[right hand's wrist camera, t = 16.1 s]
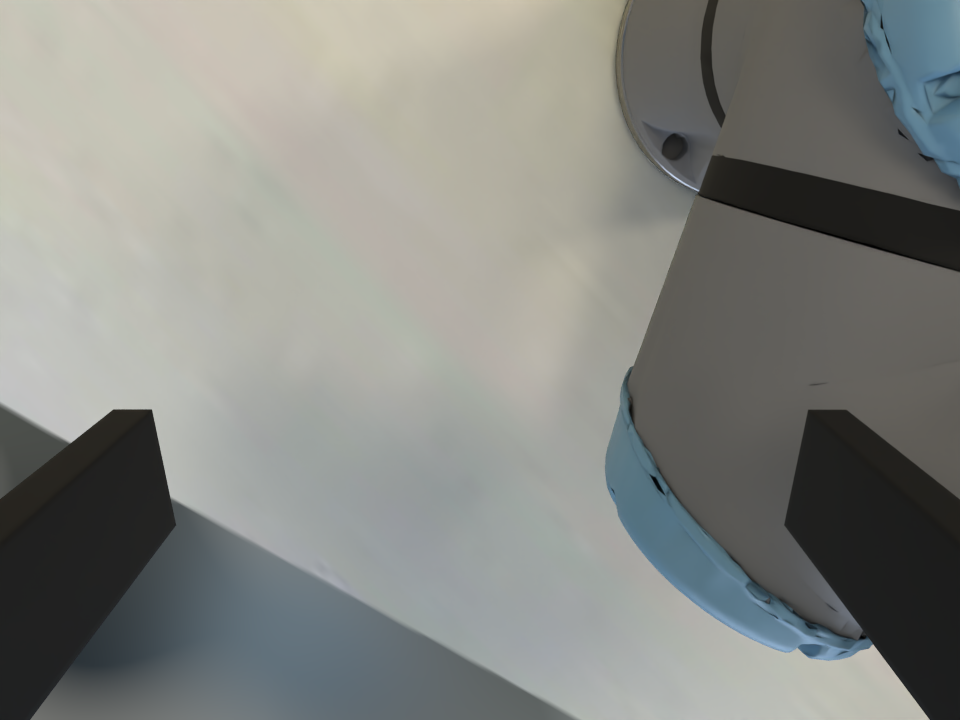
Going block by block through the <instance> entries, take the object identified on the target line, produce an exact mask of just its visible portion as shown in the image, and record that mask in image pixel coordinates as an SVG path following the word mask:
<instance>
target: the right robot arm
mask: <svg viewBox="0 0 960 720" xmlns="http://www.w3.org/2000/svg"><path fill="white" fill-rule="evenodd" d="M616 78H617V88H618V94H619V100H620V103H621V107H622V111H623V114H624V117H625V119H626V122H627V125H628V127H629V129H630V131H631V133H632V135H633V137H634V139H635V140H636V142H637V144H638V145H639V147H640V148H641V150H642V151H643V152H644V153H645V155H646V156H647V157H648V159H649V160H650V161H651V162H652V163H653V164H654V165H655V166H656V167H657V168H658V169H660V170H661V171H662V172H663V173H665V174H666V175H667V176H668V177H670V178H671V179H673V180H675V181H676V182H678V183H680V184H682V185H684V186H686V187H688V188H690V189H693V190H695V191H698V194H697V195H696V197H695V200H694V202H693V205H692V208H691V211H690V213H689V216H688V219H687V222H686V224H685V227H684V230H683V233H682V235H681V238H680V241H679V244H678V246H677V249H676V252H675V255H674V257H673V260H672V263H671V266H670V268H669V271H668V274H667V277H666V279H665V282H664V285H663V288H662V290H661V293H660V296H659V299H658V301H657V304H656V307H655V310H654V312H653V315H652V318H651V321H650V323H649V326H648V329H647V332H646V334H645V337H644V340H643V343H642V345H641V348H640V351H639V354H638V356H637V359H636V361H635V364H634V366H632V367H630V368H629V370H628V372H627V374H626V375H625V378H624V381H623V384H622V387H621V394H620V408H619V411H618V415H617V418H616V422H615V425H614V429H613V432H612V435H611V439H610V442H609V445H608V448H607V453H606V462H605V474H606V482H607V487H608V490H609V492H610V495H611V497H612V499H613V501H614V502H615V504H616V505H617V510H618V516H619V518H620V520H621V522H622V524H623V526H624V528H625V529H626V531H627V532H628V534H629V535H630V537H631V538H632V540H633V541H634V542H635V544H636V545H637V546H638V548H639V549H640V550H641V552H642V553H643V554H644V555H645V557H646V558H647V559H648V560H649V561H650V562H651V563H652V565H653V566H654V567H655V568H656V569H657V570H658V571H659V572H660V573H661V574H662V575H663V576H664V577H665V578H666V579H667V580H668V581H669V582H670V583H671V584H672V585H674V586H675V587H676V588H677V589H678V590H679V591H680V592H682V593H683V594H684V595H685V596H686V597H688V598H689V599H690V600H691V601H692V602H694V603H695V604H696V605H698V606H699V607H700V608H702V609H703V610H704V611H706V612H707V613H709V614H710V615H711V616H713V617H714V618H716V619H717V620H719V621H720V622H722V623H724V624H725V625H727V626H728V627H730V628H732V629H734V630H735V631H737V632H739V633H741V634H742V635H744V636H746V637H748V638H750V639H752V640H755V641H757V642H759V643H761V644H763V645H766V646H768V647H771V648H773V649H776V650H779V651H782V652H791V651H793V650H795V649H796V648H798V649H799V650H800V651H802V652H803V653H804V654H805V655H806V656H807V657H808V658H812V659H820V660H828V661H829V660H839V659H844V658H847V657H850V656H852V655H854V654H855V653H857V652H858V651H860V650H864V649H869V648H870V646H871V645H873V644H874V646H875V647H876V648H877V650H878V651H879V652H880V654H881V655H882V656H883V658H884V659H885V660H886V662H887V663H888V664H889V666H890V667H891V668H892V670H893V671H894V672H895V674H896V675H897V676H898V678H899V679H900V680H901V682H902V683H903V684H904V686H905V687H906V688H907V690H908V691H909V692H910V694H911V695H912V696H913V698H914V699H915V700H916V702H917V703H918V704H919V706H920V707H921V708H922V710H923V711H924V712H925V714H926V715H927V716H928V718H929V719H930V720H960V0H628V3H627V5H626V8H625V11H624V15H623V18H622V22H621V26H620V31H619V36H618V42H617V52H616ZM175 526H176V523H175V518H174V513H173V509H172V504H171V499H170V494H169V489H168V485H167V480H166V475H165V470H164V465H163V461H162V456H161V451H160V446H159V441H158V437H157V432H156V427H155V422H154V417H153V413H152V410H112V411H111V412H110V413H109V414H107V415H106V416H105V417H104V418H102V419H101V420H100V421H98V422H97V423H96V424H95V425H93V426H92V427H91V428H90V429H88V430H87V431H86V432H85V433H83V434H82V435H81V436H80V437H78V438H77V439H76V440H74V441H73V442H72V443H71V444H69V445H68V446H67V447H66V448H64V449H63V450H62V451H61V452H59V453H58V454H57V455H56V456H54V457H53V458H52V459H50V460H49V461H48V462H47V463H45V464H44V465H43V466H42V467H40V468H39V469H38V470H37V471H35V472H34V473H33V474H31V475H30V476H29V477H28V478H26V479H25V480H24V481H23V482H21V483H20V484H19V485H18V486H16V487H15V488H14V489H13V490H11V491H10V492H9V493H8V494H6V495H5V496H4V497H2V498H1V499H0V720H30V719H31V718H32V716H33V715H34V714H35V712H36V711H37V710H38V708H39V707H40V706H41V704H42V703H43V702H44V700H45V699H46V698H47V696H48V695H49V694H50V692H51V691H52V690H53V688H54V687H55V686H56V684H57V683H58V682H59V680H60V679H61V678H62V676H63V675H64V674H65V672H66V671H67V670H68V668H69V667H70V666H71V664H72V663H73V662H74V660H75V659H76V658H77V656H78V655H79V654H80V652H81V651H82V650H83V648H84V647H85V646H86V644H87V643H88V642H89V640H90V639H91V638H92V636H93V635H94V634H95V632H96V631H97V630H98V628H99V627H100V626H101V624H102V623H103V622H104V620H105V619H106V618H107V616H108V615H109V614H110V612H111V611H112V610H113V608H114V607H115V606H116V604H117V603H118V602H119V600H120V599H121V598H122V596H123V595H124V594H125V592H126V591H127V590H128V588H129V587H130V586H131V584H132V583H133V582H134V580H135V579H136V578H137V576H138V575H139V574H140V572H141V571H142V570H143V568H144V567H145V566H146V564H147V563H148V562H149V560H150V559H151V558H152V556H153V555H154V554H155V552H156V551H157V550H158V548H159V547H160V546H161V544H162V543H163V542H164V540H165V539H166V538H167V536H168V535H169V534H170V532H171V531H172V530H173V528H174V527H175Z"/></svg>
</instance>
